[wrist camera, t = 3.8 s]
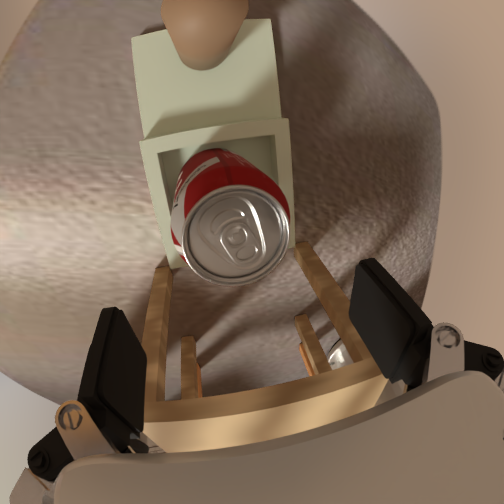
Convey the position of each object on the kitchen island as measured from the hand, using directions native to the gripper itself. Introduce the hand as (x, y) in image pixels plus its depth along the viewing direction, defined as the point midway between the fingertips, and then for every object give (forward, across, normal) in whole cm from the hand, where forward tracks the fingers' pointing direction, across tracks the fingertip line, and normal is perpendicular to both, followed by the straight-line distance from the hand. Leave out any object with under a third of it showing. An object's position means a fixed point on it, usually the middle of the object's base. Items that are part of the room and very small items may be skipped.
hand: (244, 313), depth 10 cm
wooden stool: (+16, 0, +13) cm, 21 cm away
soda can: (+16, 0, 0) cm, 16 cm away
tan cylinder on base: (+16, -1, -4) cm, 17 cm away
